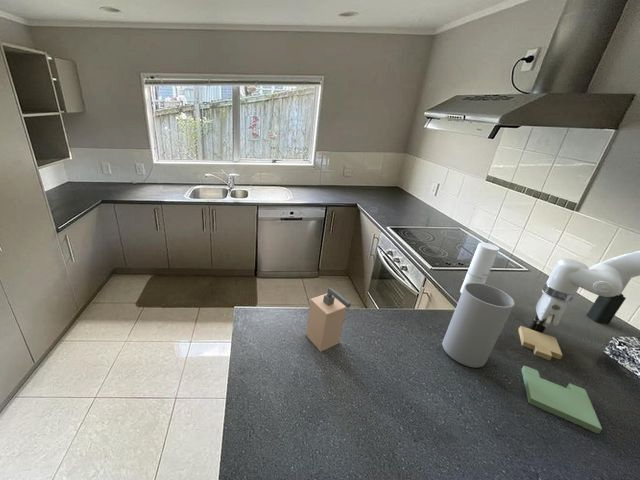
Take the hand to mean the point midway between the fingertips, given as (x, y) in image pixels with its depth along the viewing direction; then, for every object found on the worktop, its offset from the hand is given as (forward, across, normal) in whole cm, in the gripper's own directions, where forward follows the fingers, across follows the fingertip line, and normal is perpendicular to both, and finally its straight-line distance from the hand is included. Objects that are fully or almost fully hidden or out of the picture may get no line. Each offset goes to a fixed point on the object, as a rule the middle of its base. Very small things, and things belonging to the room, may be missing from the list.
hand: (535, 331), depth 107 cm
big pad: (+1, -32, -1) cm, 32 cm away
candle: (+1, +28, -23) cm, 36 cm away
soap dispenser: (+2, -55, +62) cm, 83 cm away
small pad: (+1, -8, 0) cm, 8 cm away
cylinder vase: (+1, -30, +22) cm, 37 cm away
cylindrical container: (+1, +14, +21) cm, 25 cm away
